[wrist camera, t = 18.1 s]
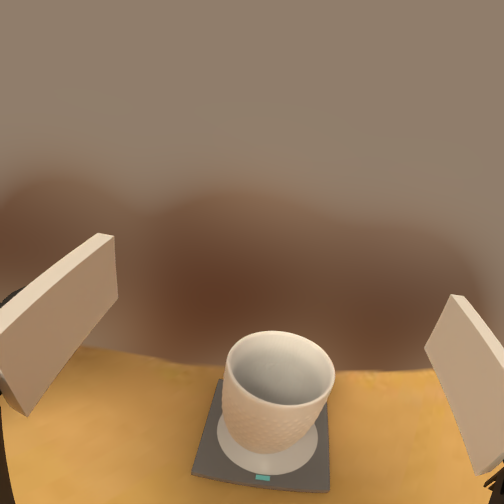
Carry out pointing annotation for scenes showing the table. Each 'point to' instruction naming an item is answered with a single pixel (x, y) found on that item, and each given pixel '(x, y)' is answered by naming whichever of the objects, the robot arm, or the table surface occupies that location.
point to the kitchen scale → (264, 457)
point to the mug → (274, 389)
